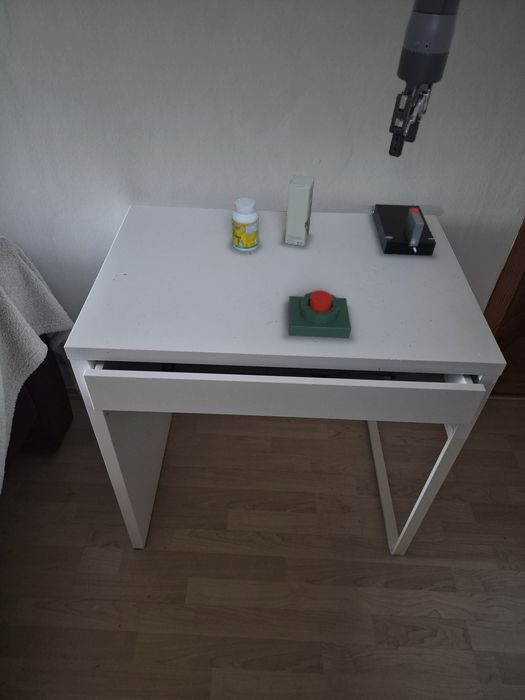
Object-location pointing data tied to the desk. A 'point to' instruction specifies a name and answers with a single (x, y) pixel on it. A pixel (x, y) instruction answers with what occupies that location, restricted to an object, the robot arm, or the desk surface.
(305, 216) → the box
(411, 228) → the grey and red bar
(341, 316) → the button box
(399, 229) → the black rectangular base
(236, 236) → the supplement bottle
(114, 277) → the desk surface
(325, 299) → the button
